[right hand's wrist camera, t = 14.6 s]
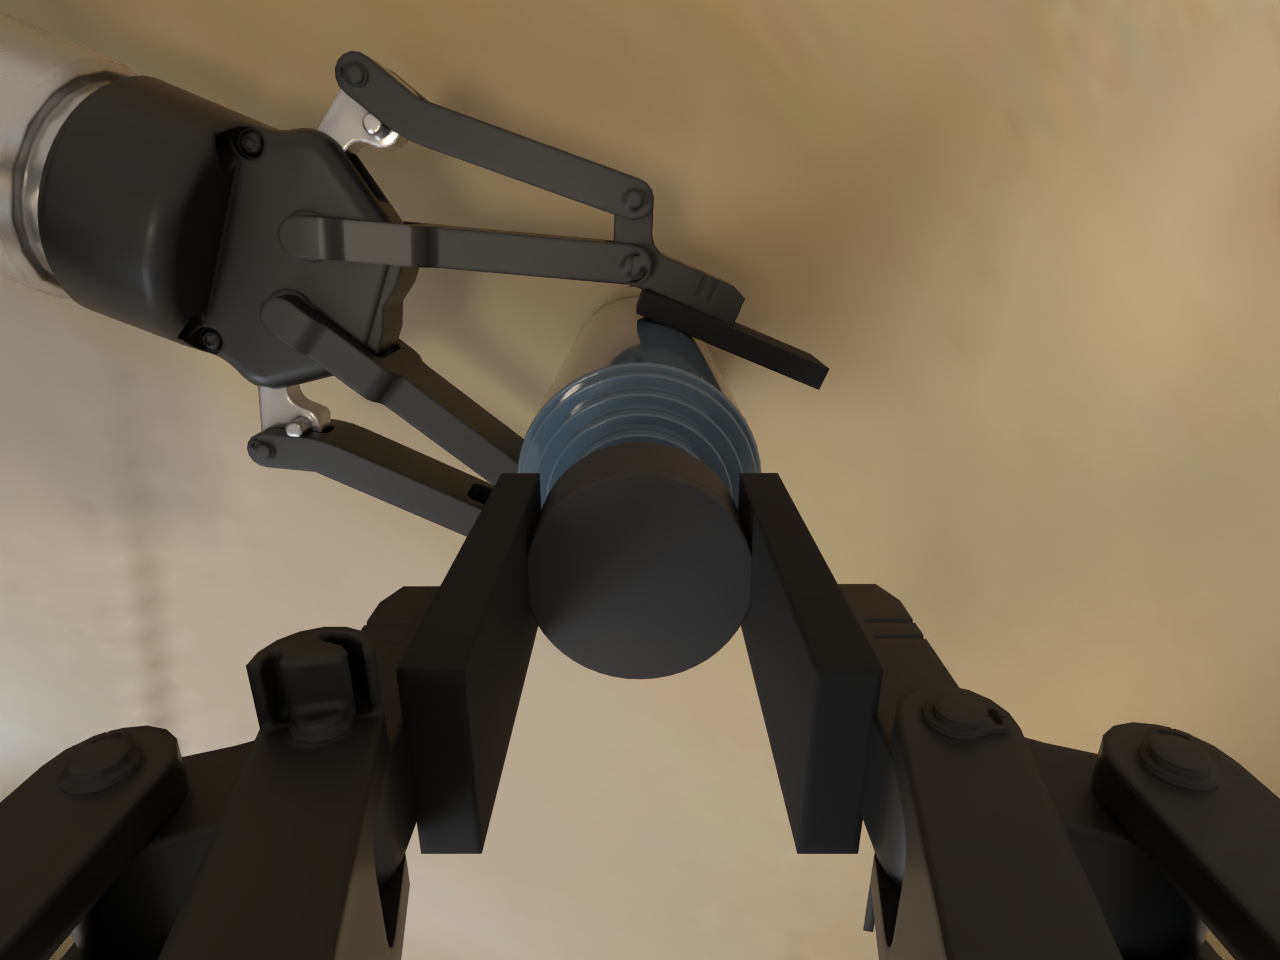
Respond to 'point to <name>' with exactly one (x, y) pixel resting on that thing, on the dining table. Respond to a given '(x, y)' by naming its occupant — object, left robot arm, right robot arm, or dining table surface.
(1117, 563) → the dining table surface
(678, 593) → the cap
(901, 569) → the dining table surface
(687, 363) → the bottle
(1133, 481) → the dining table surface
